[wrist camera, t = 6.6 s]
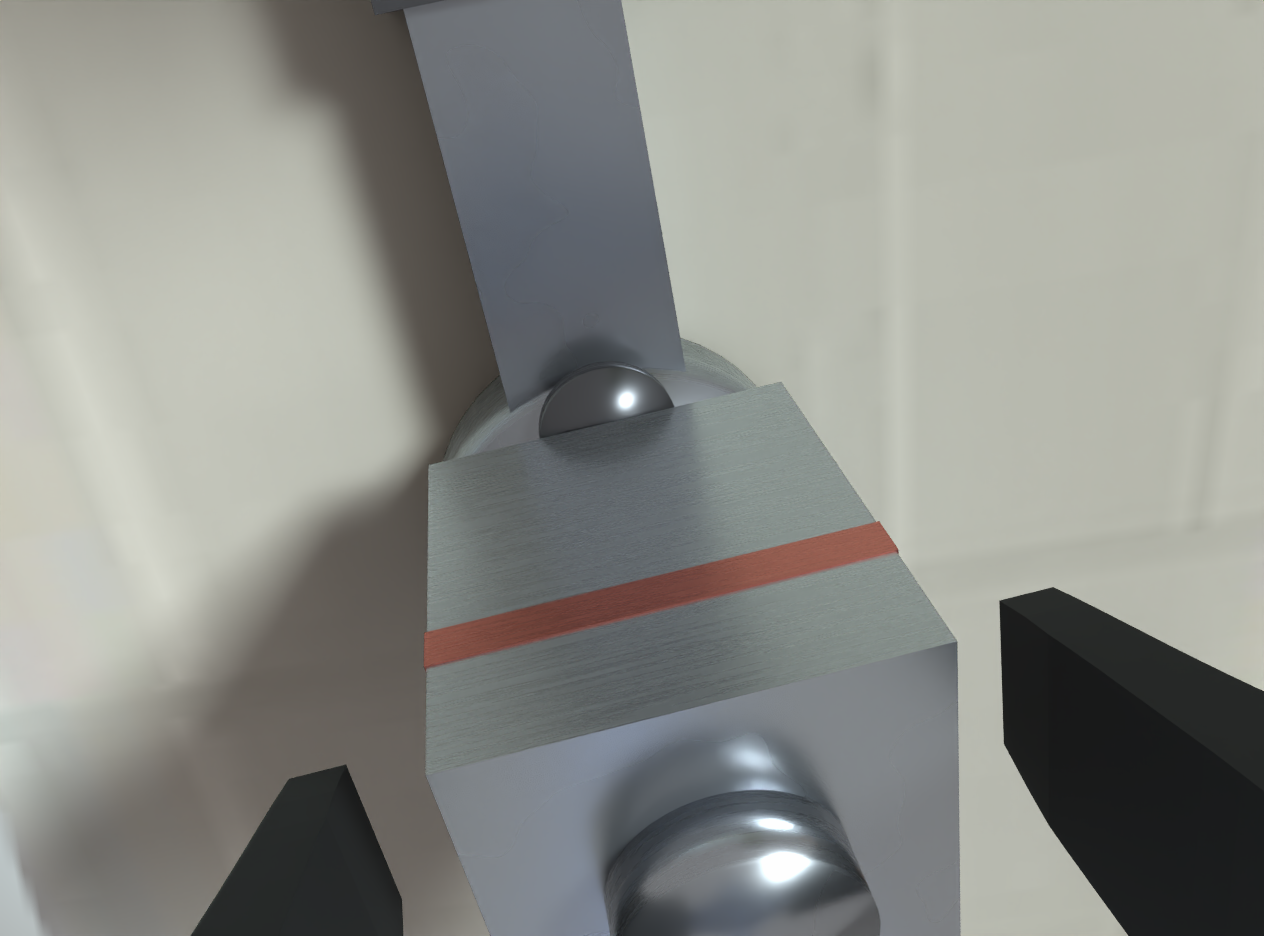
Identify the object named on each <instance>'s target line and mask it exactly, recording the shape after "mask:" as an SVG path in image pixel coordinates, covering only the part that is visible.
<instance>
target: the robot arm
mask: <svg viewBox="0 0 1264 936" xmlns="http://www.w3.org/2000/svg"><path fill="white" fill-rule="evenodd" d="M1000 631H1001V664H1002V696H1003V729H1004V745H1005V747H1006V748H1007V750H1008V752H1009V754H1010V756H1011V758H1012V760H1013V762H1014V763H1015V765H1016V767H1017V769H1018V771H1019V773H1020V775H1021V776H1022V778H1023V780H1024V782H1025V784H1026V786H1027V788H1028V789H1029V791H1030V793H1031V795H1032V796H1033V798H1034V800H1035V802H1036V803H1037V805H1038V807H1039V809H1040V811H1041V812H1042V814H1043V816H1044V818H1045V819H1046V821H1047V823H1048V825H1049V826H1050V828H1051V829H1052V830H1053V832H1054V833H1055V835H1056V836H1057V837H1058V839H1059V840H1060V842H1061V843H1062V845H1063V846H1064V847H1065V849H1066V850H1067V852H1068V853H1069V854H1070V856H1071V857H1072V859H1073V860H1074V861H1075V863H1076V864H1077V865H1078V867H1079V868H1080V870H1081V871H1082V872H1083V874H1084V875H1085V877H1086V878H1087V879H1088V881H1089V882H1090V884H1091V885H1092V886H1093V888H1094V889H1095V890H1096V892H1097V893H1098V895H1099V896H1100V897H1101V899H1102V900H1103V901H1104V903H1105V904H1106V906H1107V907H1108V908H1109V910H1110V911H1111V912H1112V914H1113V915H1114V916H1115V918H1116V919H1117V921H1118V922H1119V923H1120V925H1121V926H1122V927H1123V929H1124V930H1125V932H1126V933H1127V934H1128V936H1264V691H1262V690H1260V689H1258V688H1255V687H1253V686H1251V685H1249V684H1247V683H1245V682H1243V681H1241V680H1239V679H1236V678H1234V677H1232V676H1230V675H1228V674H1226V673H1224V672H1222V671H1220V670H1218V669H1216V668H1214V667H1212V666H1210V665H1208V664H1206V663H1203V662H1201V661H1199V660H1197V659H1195V658H1193V657H1191V656H1189V655H1187V654H1185V653H1183V652H1181V651H1179V650H1177V649H1175V648H1173V647H1171V646H1169V645H1167V644H1165V643H1163V642H1162V641H1160V640H1158V639H1156V638H1154V637H1152V636H1150V635H1148V634H1146V633H1144V632H1142V631H1140V630H1138V629H1136V628H1134V627H1132V626H1130V625H1128V624H1126V623H1124V622H1122V621H1120V620H1118V619H1116V618H1115V617H1113V616H1111V615H1109V614H1107V613H1105V612H1103V611H1101V610H1099V609H1097V608H1095V607H1093V606H1091V605H1089V604H1087V603H1085V602H1083V601H1081V600H1079V599H1077V598H1075V597H1073V596H1071V595H1069V594H1066V593H1064V592H1062V591H1060V590H1058V589H1056V588H1053V587H1052V588H1048V589H1044V590H1040V591H1036V592H1032V593H1028V594H1024V595H1020V596H1016V597H1012V598H1008V599H1004V600H1000ZM191 936H403V916H402V898H401V896H400V894H399V891H398V889H397V886H396V884H395V882H394V879H393V877H392V874H391V872H390V870H389V867H388V865H387V862H386V860H385V858H384V855H383V853H382V850H381V848H380V846H379V843H378V841H377V838H376V836H375V833H374V831H373V829H372V826H371V824H370V821H369V819H368V817H367V814H366V812H365V809H364V807H363V805H362V802H361V800H360V797H359V795H358V793H357V790H356V788H355V785H354V783H353V781H352V778H351V776H350V773H349V771H348V768H347V766H346V765H343V766H339V767H335V768H331V769H327V770H323V771H319V772H315V773H311V774H307V775H303V776H299V777H295V778H291V779H289V780H288V781H287V783H286V784H285V786H284V787H283V789H282V790H281V792H280V794H279V795H278V797H277V798H276V800H275V801H274V803H273V804H272V806H271V808H270V809H269V811H268V812H267V814H266V816H265V817H264V819H263V821H262V822H261V824H260V826H259V827H258V829H257V830H256V832H255V834H254V835H253V837H252V839H251V840H250V842H249V844H248V845H247V847H246V848H245V850H244V852H243V853H242V855H241V857H240V858H239V860H238V862H237V863H236V865H235V866H234V868H233V870H232V871H231V873H230V875H229V876H228V878H227V879H226V881H225V883H224V884H223V886H222V887H221V889H220V891H219V892H218V894H217V896H216V897H215V899H214V900H213V902H212V903H211V905H210V906H209V908H208V910H207V911H206V913H205V914H204V916H203V917H202V919H201V920H200V922H199V924H198V925H197V927H196V928H195V930H194V931H193V933H192V934H191Z"/></svg>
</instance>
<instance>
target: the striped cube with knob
mask: <svg viewBox="0 0 1264 936" xmlns="http://www.w3.org/2000/svg"><path fill="white" fill-rule="evenodd" d="M424 668H425V671H426V673H427V676H426V778H427V780H428V783H429V785H430V788H431V790H432V793H433V795H434V798H435V800H436V802H437V805H438V807H439V810H440V812H441V815H442V817H443V820H444V822H445V825H446V827H447V830H448V832H449V835H450V837H451V839H452V842H453V844H454V847H455V849H456V852H457V854H458V857H459V859H460V862H461V864H462V867H463V869H464V871H465V874H466V876H467V879H468V881H469V884H470V886H471V889H472V891H473V894H474V896H475V899H476V901H477V904H478V906H479V908H480V911H481V913H482V916H483V918H484V921H485V923H486V926H487V928H488V931H489V933H490V936H960V849H959V756H958V662H957V640H956V639H955V637H954V636H953V634H952V633H951V631H950V630H949V628H948V627H947V625H946V624H945V622H944V621H943V619H942V618H941V617H940V615H939V614H938V612H937V611H936V609H935V608H934V606H933V605H932V603H931V602H930V600H929V599H928V597H927V596H926V594H925V593H924V592H923V590H922V589H921V587H920V586H919V584H918V583H917V581H916V580H915V578H914V577H913V575H912V574H911V572H910V571H909V569H908V568H907V566H906V565H905V564H904V562H903V561H902V559H901V558H900V556H899V555H898V548H897V547H896V545H895V544H894V542H893V541H892V539H891V538H890V537H889V535H888V534H887V532H886V531H885V529H884V528H883V526H882V525H881V523H880V522H879V521H878V522H876V521H875V519H874V518H873V516H872V515H871V513H870V512H869V510H868V509H867V508H866V506H865V505H864V503H863V502H862V500H861V499H860V497H859V496H858V494H857V493H856V491H855V490H854V488H853V487H852V485H851V484H850V483H849V481H848V480H847V478H846V477H845V475H844V474H843V472H842V471H841V469H840V468H839V466H838V465H837V463H836V462H835V460H834V459H833V457H832V456H831V455H830V453H829V452H828V450H827V449H826V447H825V446H824V444H823V443H822V441H821V440H820V438H819V437H818V435H817V434H816V432H815V431H814V429H813V428H812V427H811V425H810V424H809V422H808V421H807V419H806V418H805V416H804V415H803V413H802V412H801V410H800V409H799V407H798V406H797V404H796V403H795V401H794V400H793V399H792V397H791V396H790V394H789V393H788V391H787V390H786V388H785V387H784V385H783V384H782V382H778V383H774V384H770V385H765V386H761V387H757V388H753V389H748V390H744V391H740V392H736V393H731V394H727V395H723V396H719V397H715V398H710V399H706V400H702V401H698V402H693V403H689V404H685V405H681V406H676V407H672V408H668V409H664V410H660V411H655V412H651V413H647V414H643V415H638V416H634V417H630V418H626V419H621V420H617V421H613V422H609V423H605V424H600V425H596V426H592V427H588V428H583V429H579V430H575V431H571V432H566V433H562V434H558V435H554V436H550V437H545V438H541V439H537V440H533V441H528V442H524V443H520V444H516V445H511V446H507V447H503V448H499V449H495V450H490V451H486V452H482V453H478V454H473V455H469V456H465V457H461V458H456V459H452V460H448V461H444V462H440V463H435V464H431V465H429V475H428V575H427V632H425V633H424Z"/></svg>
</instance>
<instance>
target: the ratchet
mask: <svg viewBox="0 0 1264 936" xmlns="http://www.w3.org/2000/svg"><path fill="white" fill-rule="evenodd" d="M371 3H372V6H373V10H374V13H375V15H378V14H383V13H387V12H392V11H397V10H402V9H403V10H404V14H405V18H406V22H407V25H408V29H409V33H410V37H411V41H412V44H413V48H414V52H415V56H416V59H417V63H418V67H419V71H420V74H421V78H422V82H423V86H424V90H425V93H426V97H427V101H428V105H429V108H430V112H431V116H432V120H433V123H434V127H435V131H436V135H437V139H438V142H439V146H440V150H441V154H442V157H443V161H444V165H445V169H446V172H447V176H448V180H449V184H450V188H451V191H452V195H453V199H454V203H455V206H456V210H457V214H458V218H459V221H460V225H461V229H462V233H463V237H464V240H465V244H466V248H467V252H468V255H469V259H470V263H471V267H472V270H473V274H474V278H475V282H476V285H477V289H478V293H479V297H480V301H481V304H482V308H483V312H484V316H485V319H486V323H487V327H488V331H489V334H490V338H491V342H492V346H493V350H494V353H495V357H496V361H497V365H498V368H499V372H500V376H499V377H497V378H496V379H495V380H494V381H493V382H492V383H491V384H490V385H489V386H488V387H487V388H486V389H485V390H484V391H483V392H482V393H481V394H480V395H479V396H478V397H477V398H476V400H475V401H474V402H473V404H472V405H471V406H470V408H469V409H468V410H467V412H466V413H465V414H464V416H463V417H462V419H461V421H460V423H459V424H458V426H457V428H456V430H455V432H454V434H453V435H452V437H451V440H450V443H449V445H448V448H447V451H446V453H445V456H444V459H443V462H444V461H448V460H452V459H456V458H461V457H465V456H469V455H473V454H478V453H482V452H486V451H490V450H495V449H499V448H503V447H507V446H511V445H516V444H520V443H524V442H528V441H533V440H537V439H541V438H545V437H550V436H554V435H558V434H562V433H566V432H571V431H575V430H579V429H583V428H588V427H592V426H596V425H600V424H605V423H609V422H613V421H617V420H621V419H626V418H630V417H634V416H638V415H643V414H647V413H651V412H655V411H660V410H664V409H668V408H672V407H676V406H681V405H685V404H689V403H693V402H698V401H702V400H706V399H710V398H715V397H719V396H723V395H727V394H731V393H736V392H740V391H744V390H748V389H753V388H757V387H756V385H755V384H754V383H753V382H752V381H751V380H750V379H749V378H748V377H747V376H746V375H745V374H744V373H743V372H742V371H741V370H740V369H738V368H737V367H735V366H734V365H733V364H731V363H730V362H729V361H727V360H726V359H724V358H723V357H722V356H720V355H718V354H716V353H714V352H713V351H711V350H709V349H707V348H705V347H703V346H701V345H699V344H696V343H693V342H690V341H688V340H685V339H682V338H680V334H679V328H678V322H677V317H676V311H675V305H674V300H673V294H672V288H671V282H670V277H669V271H668V265H667V260H666V254H665V248H664V242H663V237H662V231H661V225H660V220H659V214H658V208H657V202H656V197H655V191H654V185H653V180H652V174H651V168H650V163H649V157H648V151H647V145H646V140H645V134H644V128H643V123H642V117H641V111H640V105H639V100H638V94H637V88H636V83H635V77H634V71H633V66H632V60H631V54H630V48H629V43H628V37H627V31H626V26H625V20H624V14H623V8H622V3H621V0H371Z"/></svg>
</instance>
